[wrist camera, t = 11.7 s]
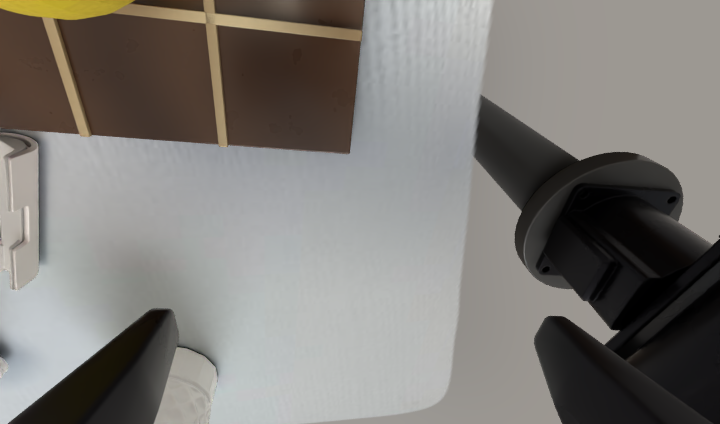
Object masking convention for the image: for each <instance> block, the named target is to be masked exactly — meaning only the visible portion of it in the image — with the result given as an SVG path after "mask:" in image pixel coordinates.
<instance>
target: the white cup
mask: <svg viewBox="0 0 720 424" xmlns="http://www.w3.org/2000/svg"><path fill="white" fill-rule="evenodd" d="M217 382H218V377H217V372H216V367H215V366H214V365H213V364H212V363H211V362H210V361H209V360H208V359H207V358H206V357H205V356H203V355H201V354H198V353H196V352H194V351H192V350H189V349H186V348H180V347H177V348H176V352H175V355H174V359H173V362H172V366H171V369H170V373H169V376H168V380H167V383H166V387H165V390H164V394H163V397H162V401H161V404H160V407H159V410H158V413H157V416H156V419H155V421H154V424H209V419H210V412H211V405H212V402H213V398H214V394H215V390H216V386H217Z"/></svg>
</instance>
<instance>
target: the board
mask: <svg viewBox="0 0 720 424" xmlns="http://www.w3.org/2000/svg"><path fill="white" fill-rule="evenodd" d="M364 6H365V0H135V1H133V2H131V3H130V4H128V5H126V6H124V7H122V8H120V9H119V10H117V11H115V12H113V13H110V14H107V15H102V16H96V17H90V18H85V19H78V20H65V19H55V18H46V17H36V16H28V15H23V14H19V13H15V12H11V11H7V10H4V9H2V8H0V128H5V129H18V130H31V131H45V132H58V133H72V134H80V136H84V137H90V136H92V135H98V136H112V137H125V138H139V139H152V140H165V141H179V142H192V143H206V144H219V147H228V145H232V146H246V147H259V148H273V149H286V150H299V151H313V152H326V153H340V154H349V153H350V145H351V135H352V125H353V115H354V105H355V95H356V85H357V75H358V65H359V55H360V46H361V41H362V26H363V16H364Z"/></svg>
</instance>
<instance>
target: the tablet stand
mask: <svg viewBox="0 0 720 424" xmlns="http://www.w3.org/2000/svg"><path fill="white" fill-rule="evenodd" d="M0 226H1V240H0V272H1V271H4V270H7V271H8V272H9V274H10V288H11V289H12V290H14V289H15V290H16V291H18V290H19V289H21V288H22V287H23V286H25V285H26V284H28V283H29V282H30V281H32V280H33V279H34V278H35V277H36V276H37V275H38V273H39V153H38V143H37V142H36V141H35V140H33V139H32V138H30V137H27V136H24V135H20V134H14V133H0Z"/></svg>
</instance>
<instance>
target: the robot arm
mask: <svg viewBox="0 0 720 424" xmlns="http://www.w3.org/2000/svg"><path fill="white" fill-rule="evenodd" d="M583 191H584V192H583ZM581 192H583V193H582V194H581ZM680 198H681V195H680V193H678V192H676V191H675V190H672V189H662V188H648V187H633V186H619V185H605V184H591V183H580V184H578V185H576V186H575V187H574V188H573V189H572V191H571V193H570V195H569V197H568V199H567V202H566V204H565V206H564V208H563V210H562V212H561V214H560V216H559V218H558V220H557V222H556V224H555V226H554V228H553V230H552V232H551V235H550V237H549V239H548V241H547V243H546V245H545V247H544V249H543V251H542V253H541V255H540V257H539V259H538V261H537V263H536V266H535V268H536V270H537V272H538V273H539V274H540V275H549V276H563V277H564V278H565V280H566V281H567V282H568V283H569V285H570V286H571V287H572V288H573V289H574V291H575V292H576V293H577V294H578V296H580V298H581V299H582V300H583V301H588V302H589V304H590V305H591V306H592V307H593V308H594V310H595V311H596V312H597V313H598V314H599V316H600V317H601V318H602V319H603V320H604V322H605V323H606V324H607V325H608V326H609V328H610V329H611V330H620V331H619V332H618V333H617V334H616V335H615V336H613V337H612V338H611V339H610V340H609V341H608V342H607V343H606V344H605V345H603V344H602V343H600V342H599V341H598V340H596V339H595V338H593V337H592V336H591V335H589V334H588V333H587V332H585V331H584V330H582V329H581V328H579V327H578V326H577V325H575V324H574V323H573V322H571V321H570V320H568V319H567V318H565V317H562V316H548V317H546V318H545V319H544V321H543V323H542V325H541V326H540V328H539V330H538V332H537V333H536V335H535V338H534V345H535V349H536V352H537V354H538V357H539V361H540V363H541V367H542V370H543V373H544V376H545V379H546V382H547V385H548V388H549V391H550V394H551V397H552V399H553V402H554V405H555V408H556V410H557V412H558V415H559V417H560V419H561V422H562V424H720V239H719V240H718V241H717V242H716V243H715V244H713V245H712V244H711V243H709V242H708V241H706V240H705V239H703V238H702V237H700V236H699V235H697V234H696V233H694V232H692V231H691V230H689V229H688V228H686V227H685V226H683V225H682V224H680V223H679V222H677V221H676V220H674V219H673V218H671V217H670V216H669V215H670V214H671V212H672V211H673V209H674V208H675V206H676V205H677V203H678V202H679V200H680ZM719 238H720V235H719ZM178 340H179V332H178V328H177V324H176V319H175V315H174V312H173V311H172V310H171V309H164V308H154V309H151V310H149V311H148V312H147V313H145V314H144V315H143V316H142V317H140V318H139V319H138V320H137V321H135V322H134V323H133V324H132V325H130V326H129V327H128V328H127V329H125V330H124V331H123V332H122V333H120V334H119V335H118V336H117V337H115V338H114V339H113V340H112V341H110V342H109V343H108V344H107V345H105V346H104V347H103V348H102V349H100V350H99V351H98V352H97V353H95V354H94V355H93V356H92V357H90V358H89V359H88V360H87V361H85V362H84V363H83V364H82V365H80V366H79V367H78V368H77V369H75V370H74V371H73V372H72V373H70V374H69V375H68V376H67V377H65V378H64V379H63V380H62V381H60V382H59V383H58V384H57V385H55V386H54V387H53V388H52V389H50V390H49V391H48V392H47V393H45V394H44V395H43V396H42V397H40V398H39V399H38V400H37V401H35V402H34V403H33V404H32V405H30V406H29V407H28V408H27V409H25V410H24V411H23V412H22V413H20V414H19V415H18V416H17V417H15V418H14V419H13V420H12V421H10V422H9V423H8V424H154V421H155V419H156V416H157V413H158V410H159V407H160V404H161V401H162V397H163V394H164V390H165V387H166V383H167V380H168V376H169V373H170V369H171V366H172V362H173V359H174V355H175V352H176V348H177V345H178Z"/></svg>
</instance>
